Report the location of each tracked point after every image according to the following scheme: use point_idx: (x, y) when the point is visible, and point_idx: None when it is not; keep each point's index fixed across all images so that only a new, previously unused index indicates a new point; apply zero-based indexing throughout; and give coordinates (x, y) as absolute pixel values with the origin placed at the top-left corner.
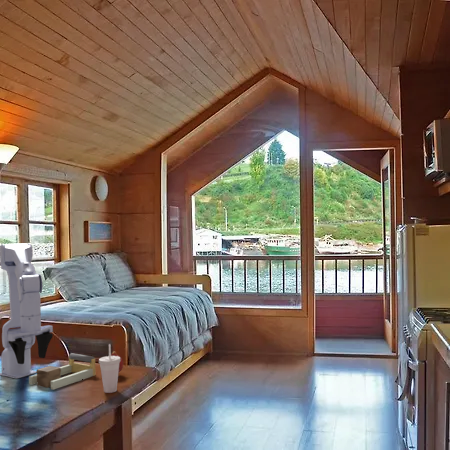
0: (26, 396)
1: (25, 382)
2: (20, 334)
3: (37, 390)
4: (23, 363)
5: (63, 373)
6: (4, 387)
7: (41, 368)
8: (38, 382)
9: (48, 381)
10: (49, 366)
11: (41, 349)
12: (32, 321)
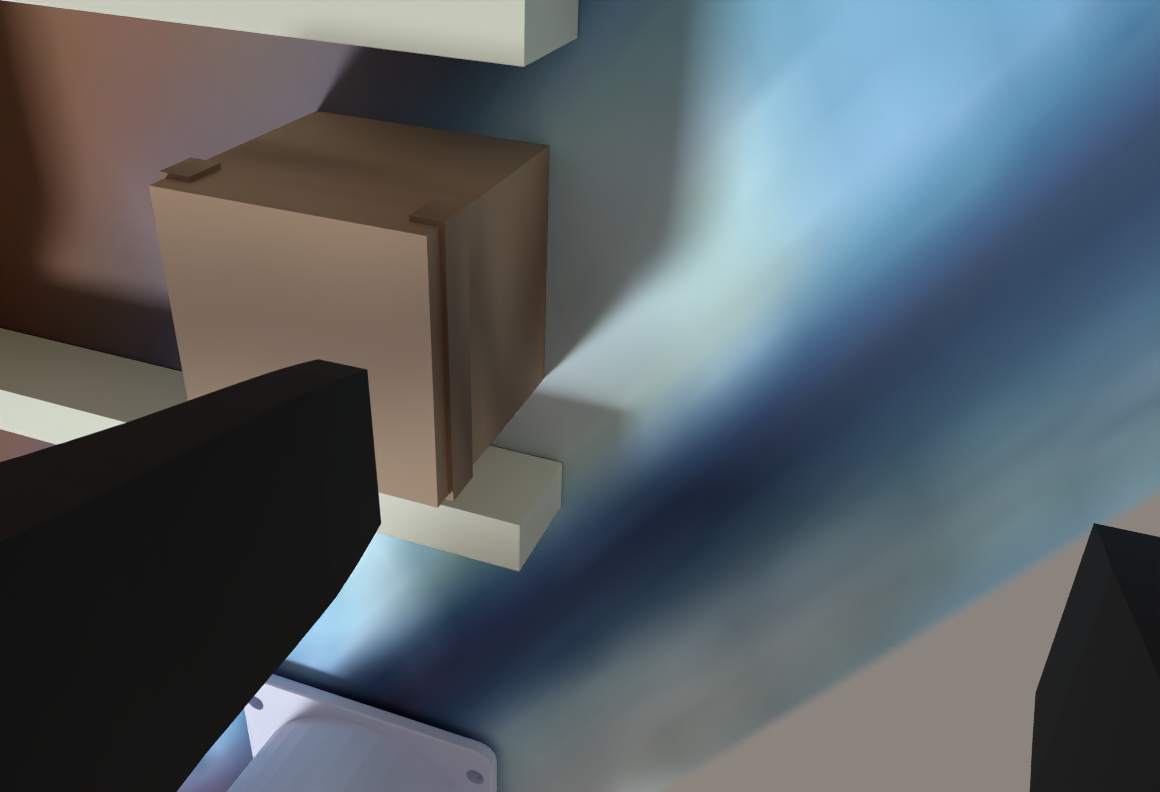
0: (1055, 146)
1: (529, 592)
2: None
3: (717, 205)
4: (1112, 533)
5: (88, 358)
6: (789, 712)
7: None
8: (526, 371)
9: (492, 171)
10: None
11: (219, 587)
12: None
